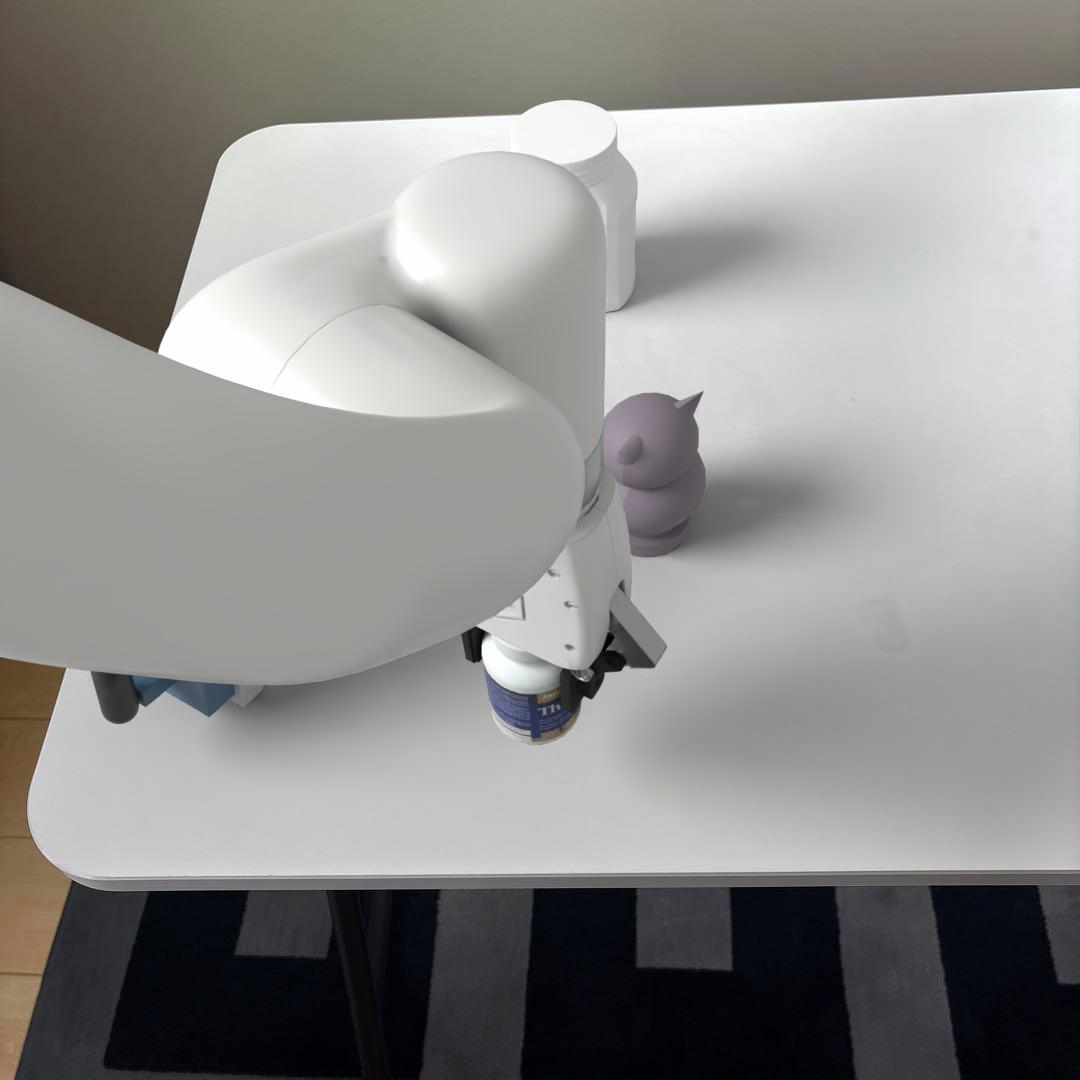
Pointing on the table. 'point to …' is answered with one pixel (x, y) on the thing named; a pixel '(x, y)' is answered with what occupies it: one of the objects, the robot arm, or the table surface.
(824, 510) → the table surface
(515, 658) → the pill bottle
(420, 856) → the table surface
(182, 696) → the scrub brush
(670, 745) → the table surface
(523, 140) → the jar
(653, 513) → the mauve rounded figurine
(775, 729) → the table surface
